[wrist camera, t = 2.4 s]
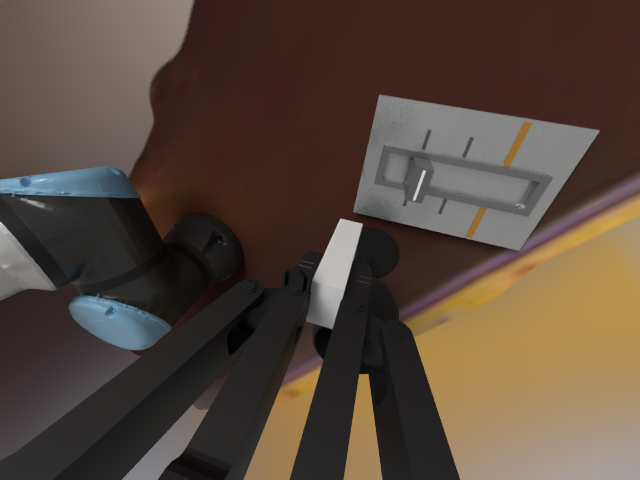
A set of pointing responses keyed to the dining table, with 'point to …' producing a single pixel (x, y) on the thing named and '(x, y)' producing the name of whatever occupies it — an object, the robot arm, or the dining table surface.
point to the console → (467, 169)
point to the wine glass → (382, 259)
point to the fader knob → (417, 179)
